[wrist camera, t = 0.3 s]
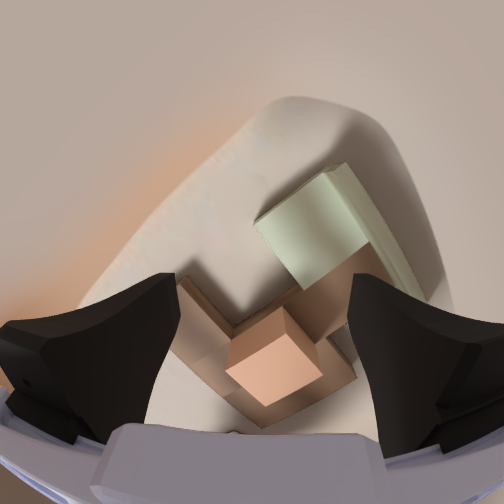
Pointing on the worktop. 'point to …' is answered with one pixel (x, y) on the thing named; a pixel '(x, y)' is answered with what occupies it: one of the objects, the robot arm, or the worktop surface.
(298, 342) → the block
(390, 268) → the blocky structure
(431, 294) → the worktop surface
